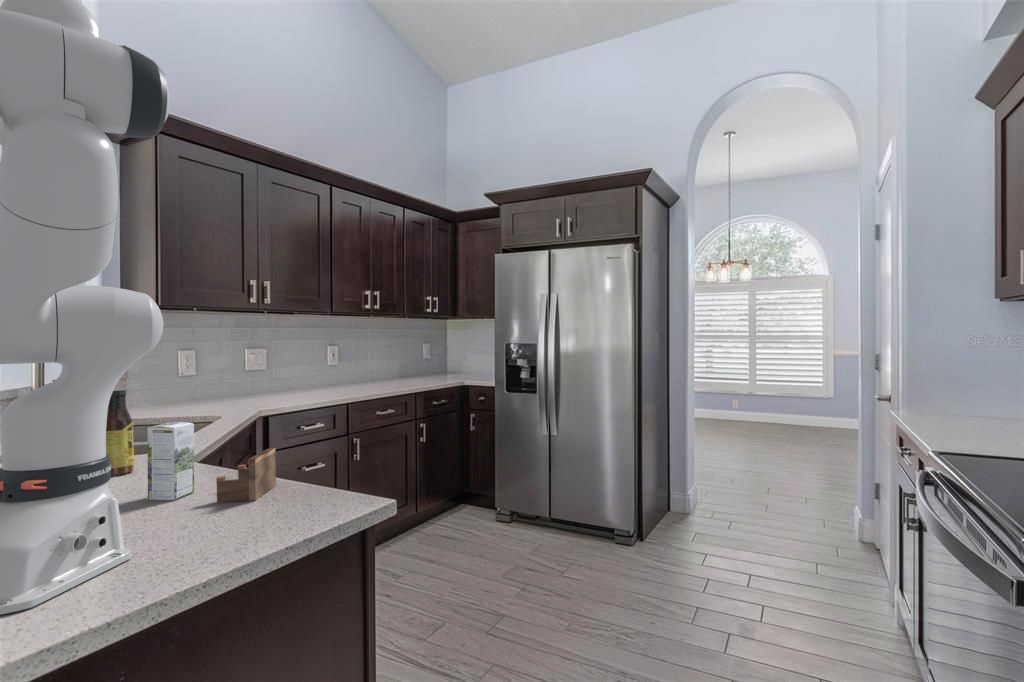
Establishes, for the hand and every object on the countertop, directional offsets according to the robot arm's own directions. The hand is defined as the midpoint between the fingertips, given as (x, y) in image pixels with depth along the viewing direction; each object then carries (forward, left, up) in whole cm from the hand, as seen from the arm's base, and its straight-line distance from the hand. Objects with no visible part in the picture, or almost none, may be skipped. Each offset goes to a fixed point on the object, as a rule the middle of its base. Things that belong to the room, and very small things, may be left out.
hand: (39, 242), depth 101 cm
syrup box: (+3, -22, -50) cm, 55 cm away
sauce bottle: (+25, +2, -50) cm, 56 cm away
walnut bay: (+3, -36, -50) cm, 62 cm away
